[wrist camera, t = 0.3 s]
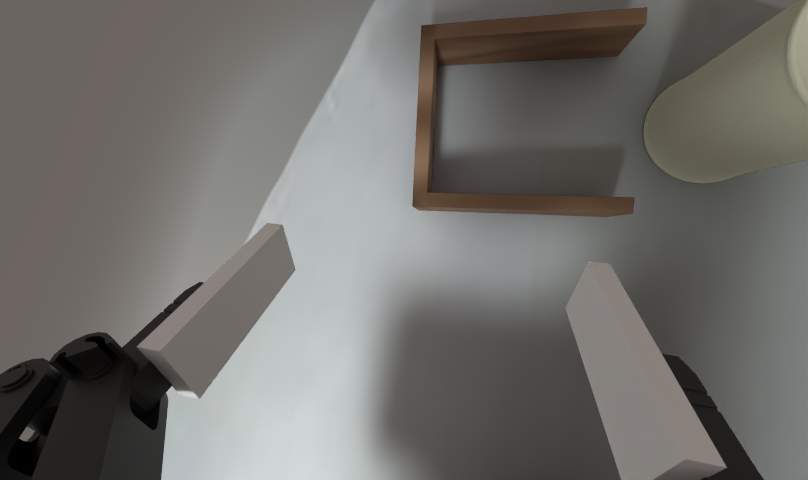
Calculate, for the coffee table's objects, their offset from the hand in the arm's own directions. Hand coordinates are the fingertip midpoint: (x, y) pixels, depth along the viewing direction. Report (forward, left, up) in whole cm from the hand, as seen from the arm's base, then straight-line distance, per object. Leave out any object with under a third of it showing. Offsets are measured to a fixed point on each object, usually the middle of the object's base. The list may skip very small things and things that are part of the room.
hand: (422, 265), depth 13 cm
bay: (+11, -7, -16) cm, 21 cm away
